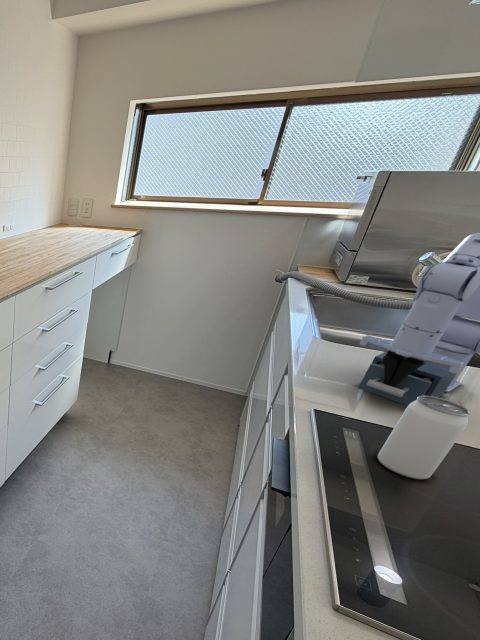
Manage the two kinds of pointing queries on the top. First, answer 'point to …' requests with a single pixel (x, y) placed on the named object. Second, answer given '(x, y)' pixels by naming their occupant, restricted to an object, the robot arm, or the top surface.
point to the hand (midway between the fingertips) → (387, 389)
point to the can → (423, 437)
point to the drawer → (402, 392)
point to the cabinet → (438, 374)
